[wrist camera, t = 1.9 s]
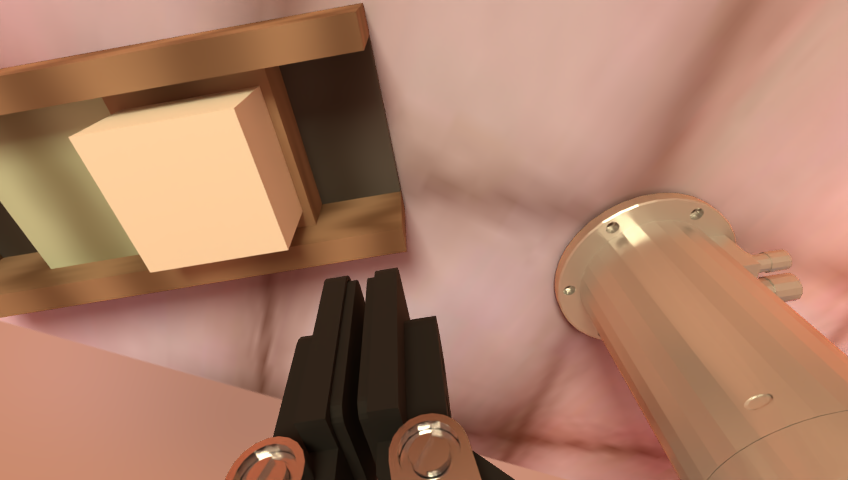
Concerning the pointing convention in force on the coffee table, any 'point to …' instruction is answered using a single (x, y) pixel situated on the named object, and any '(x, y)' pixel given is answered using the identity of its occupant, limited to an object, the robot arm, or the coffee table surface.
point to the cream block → (194, 178)
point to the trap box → (180, 79)
